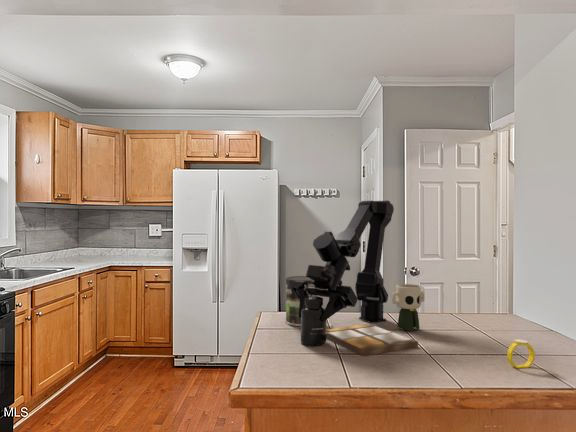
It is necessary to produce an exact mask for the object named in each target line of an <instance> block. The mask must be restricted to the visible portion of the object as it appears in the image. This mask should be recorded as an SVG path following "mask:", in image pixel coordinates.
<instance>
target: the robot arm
mask: <svg viewBox="0 0 576 432" xmlns="http://www.w3.org/2000/svg"><path fill="white" fill-rule="evenodd" d="M357 207H358V208H357V210H356V211H355V213H354V214H353V216H352V218H351V219H350V221H349V223H348V225H347V227H345V229H344V230H342V231H341V232H339V233H337V235H336V236H334V234H333V232H332V231H328V230H327V231H326V230H325V231H324V233H323V234H321V235H318V236H317V237H316V238H314V239H313V242H312V246H313V247H314V249H315V252H316V253H317V255H318V256H319V258H320V259H321V261H322V262H325V265H324V266H323V265H315V264H309V265H308V266H307V270H306V275H305V276H306V277H309V278H310V279H312V281H311V282H312V284H313V285H315V287H309V286H308V284H307V283H306V282H303V281H293V283H292V285H291V287H290V288H291V290H292V291H293V292H294V294H295V295H296V297H297V298H298V299H300V305H299V315H298V316H299V317H300V318H301V310H302V309H303V308H304V307H306V305H305V297H312V295H318V297H322V298H323V297H324V298H328V302H327V304H326V306H325V308H324V309H325V310H324V312H323V315H322V318H321V320H322V322H324V321H326V320H327V321H328V319H330V318H331V317H332V316H334V315H335V314H336V313H338V312H340V311H342V309H346V308H347V307H351V308H355V306H356V305H357V303H358V301H361V305H360V316H359V317H358V319H359V320H363V322H364V321H365V322H368V323H377V322H386V321H387V318H384V304H386V303H387V302H388V300H389V294H388V292H387V289H386V288H385V286H384V278H383V275H382V274H381V272H380V269H381V261H382V253H383V246H384V238H385V230H386V228H387V226H388V225H389V224H390V222H391V221H392V218H393V214H394V205H393V203H391V201H389V200H361V201H359V203H358V206H357ZM368 224H369V230H368V231H369V232H368V239H367V247H366V254H365V260H364V261H365V262H364V268H363V269H362V271H361V272H360V271H359V272H357V275H356V282H355V291H354V289H353V288H352V286H349V285H343V281H342V278H343V276H344V274H345V271H350V270H351V265H350V264H349V263H350V262H349V261H348V259H347V258H356V257H357V255H358V253H359V252H360V248H361V245H362V244H361V237H362V235H363V233H364V231H365V230H366V227H367V226H368Z"/></svg>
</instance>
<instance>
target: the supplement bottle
mask: <svg viewBox="0 0 576 432" xmlns="http://www.w3.org/2000/svg"><path fill="white" fill-rule="evenodd" d="M305 305H306V307H304V308H303V309H302V310H301V326H300V343H301V344H302V345H305V346H309V347H321V346H324V345H326V343H327V339H326V329H327V326H328V325H327V321H328V319H327V320H326V321H324V322H322V320H321V318H322V315H323V312H324V310H325V308H324V307H323V306H324V298H323V297H322V296H318V297H314V296H312V297H305Z"/></svg>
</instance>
